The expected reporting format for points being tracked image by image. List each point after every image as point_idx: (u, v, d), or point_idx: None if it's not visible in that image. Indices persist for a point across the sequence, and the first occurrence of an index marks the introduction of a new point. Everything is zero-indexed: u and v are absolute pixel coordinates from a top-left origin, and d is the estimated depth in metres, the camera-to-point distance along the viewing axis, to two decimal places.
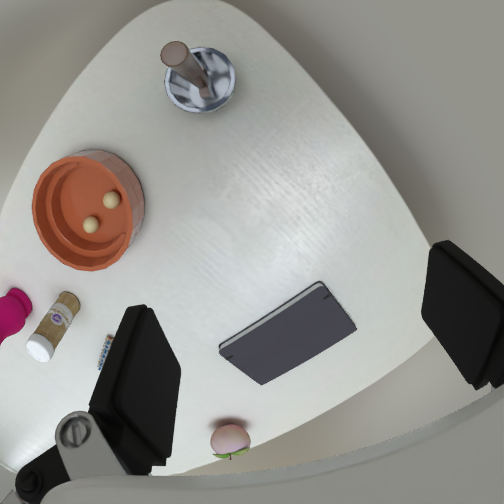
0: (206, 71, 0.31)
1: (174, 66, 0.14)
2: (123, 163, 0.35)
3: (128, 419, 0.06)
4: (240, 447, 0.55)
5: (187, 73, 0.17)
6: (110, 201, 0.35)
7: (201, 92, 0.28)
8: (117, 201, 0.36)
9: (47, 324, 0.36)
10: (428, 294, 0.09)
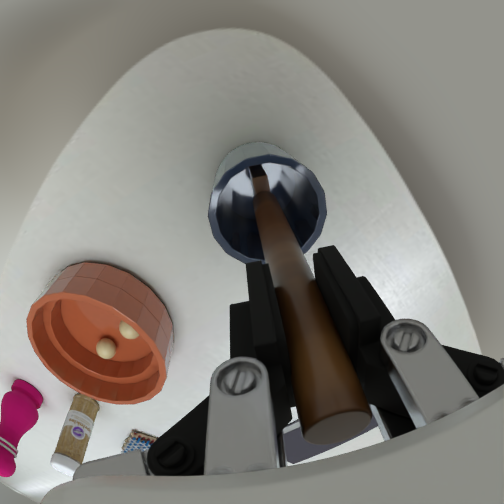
0: (261, 165, 0.23)
1: None
2: (141, 286, 0.27)
3: (286, 358, 0.07)
4: None
5: None
6: (130, 334, 0.27)
7: None
8: None
9: (69, 440, 0.28)
10: None
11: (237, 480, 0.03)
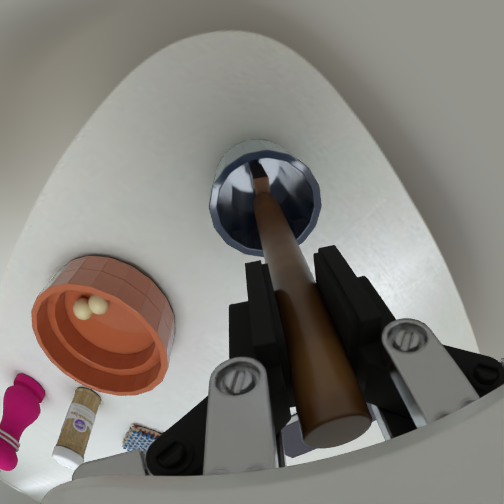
0: (262, 166, 0.23)
1: None
2: (144, 278, 0.28)
3: (285, 358, 0.07)
4: None
5: None
6: None
7: None
8: (102, 299, 0.28)
9: (71, 433, 0.30)
10: None
11: (237, 480, 0.03)
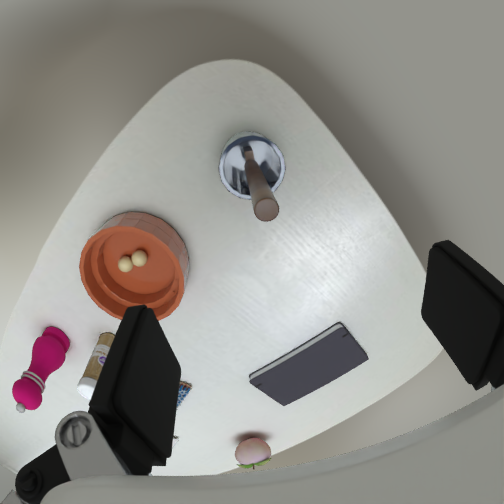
0: (250, 147, 0.36)
1: (265, 220, 0.19)
2: (169, 227, 0.41)
3: (128, 419, 0.06)
4: (263, 458, 0.61)
5: None
6: (144, 253, 0.41)
7: None
8: (145, 259, 0.41)
9: (95, 367, 0.42)
10: (428, 294, 0.09)
11: (237, 480, 0.03)
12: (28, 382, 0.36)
